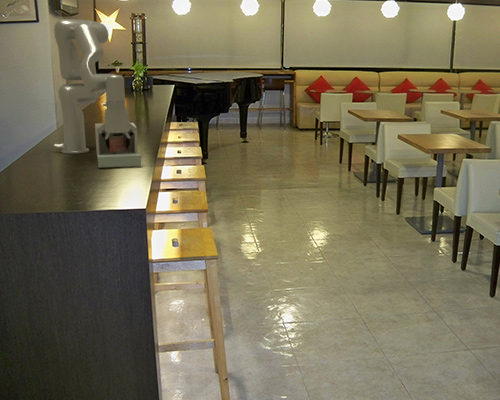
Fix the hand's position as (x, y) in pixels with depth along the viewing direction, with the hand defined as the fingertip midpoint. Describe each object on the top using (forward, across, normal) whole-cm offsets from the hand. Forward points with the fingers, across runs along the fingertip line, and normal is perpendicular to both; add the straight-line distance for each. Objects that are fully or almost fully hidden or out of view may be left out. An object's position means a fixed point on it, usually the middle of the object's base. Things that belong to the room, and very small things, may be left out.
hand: (118, 147), depth 251 cm
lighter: (+3, 0, 0) cm, 3 cm away
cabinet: (+7, 0, +15) cm, 16 cm away
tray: (+6, 0, -1) cm, 6 cm away
